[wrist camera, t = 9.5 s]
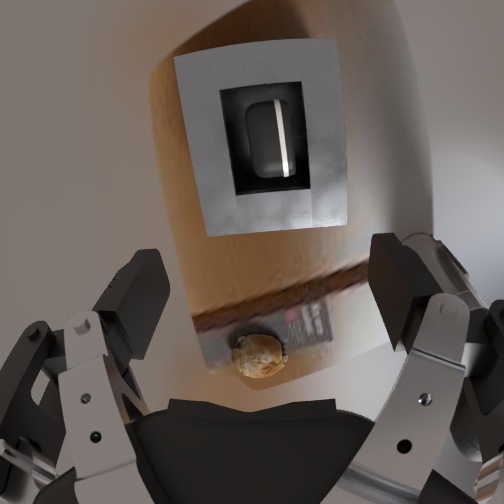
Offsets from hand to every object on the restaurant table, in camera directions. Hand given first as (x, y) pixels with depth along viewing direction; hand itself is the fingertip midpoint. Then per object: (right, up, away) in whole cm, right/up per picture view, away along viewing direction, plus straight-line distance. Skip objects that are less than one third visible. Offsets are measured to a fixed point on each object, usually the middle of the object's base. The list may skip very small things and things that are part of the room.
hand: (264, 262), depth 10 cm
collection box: (+1, +15, +21) cm, 26 cm away
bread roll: (+1, -18, +42) cm, 46 cm away
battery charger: (+2, +15, +21) cm, 26 cm away
